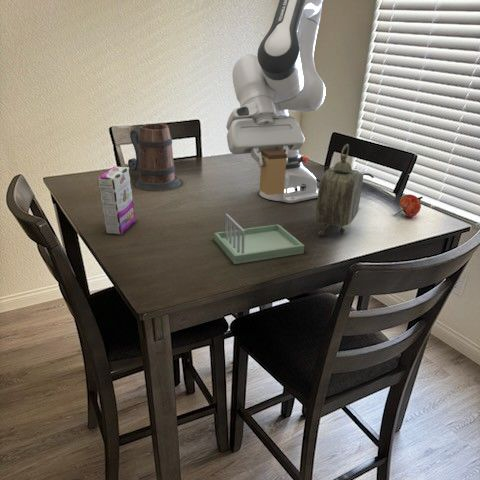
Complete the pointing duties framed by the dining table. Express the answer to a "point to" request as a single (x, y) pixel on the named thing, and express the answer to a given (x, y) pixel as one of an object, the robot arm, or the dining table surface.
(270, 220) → the dining table surface
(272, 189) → the kraft box
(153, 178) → the tankard
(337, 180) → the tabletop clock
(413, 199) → the pomegranate
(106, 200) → the candy bar box
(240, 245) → the dish rack
